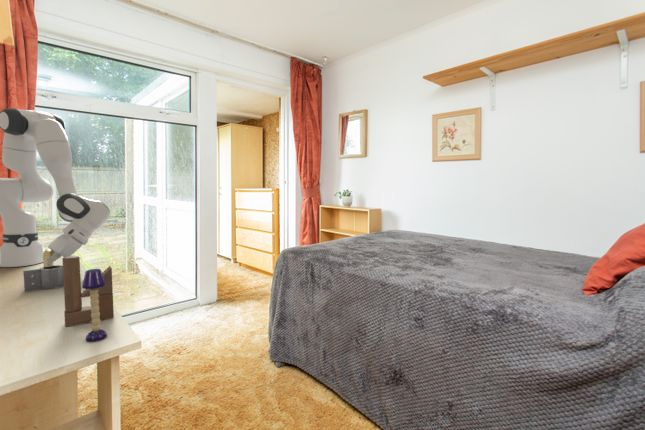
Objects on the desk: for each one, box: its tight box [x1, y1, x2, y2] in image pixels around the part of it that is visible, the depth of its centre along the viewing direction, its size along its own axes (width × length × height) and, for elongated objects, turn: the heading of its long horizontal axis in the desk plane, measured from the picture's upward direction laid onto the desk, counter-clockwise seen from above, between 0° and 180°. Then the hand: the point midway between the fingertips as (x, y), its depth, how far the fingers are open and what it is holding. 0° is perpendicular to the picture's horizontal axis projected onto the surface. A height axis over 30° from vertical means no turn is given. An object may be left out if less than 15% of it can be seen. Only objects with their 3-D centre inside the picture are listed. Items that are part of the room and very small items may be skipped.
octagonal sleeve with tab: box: [22, 264, 64, 292], centre depth 120 cm, size 6×15×7 cm, turn 139°
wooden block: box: [62, 255, 115, 328], centre depth 90 cm, size 4×11×18 cm, turn 128°
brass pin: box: [42, 249, 54, 267], centre depth 131 cm, size 3×3×11 cm
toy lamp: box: [81, 268, 108, 343], centre depth 80 cm, size 5×5×17 cm
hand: (46, 262), depth 130 cm, fingers open, 4 cm apart
